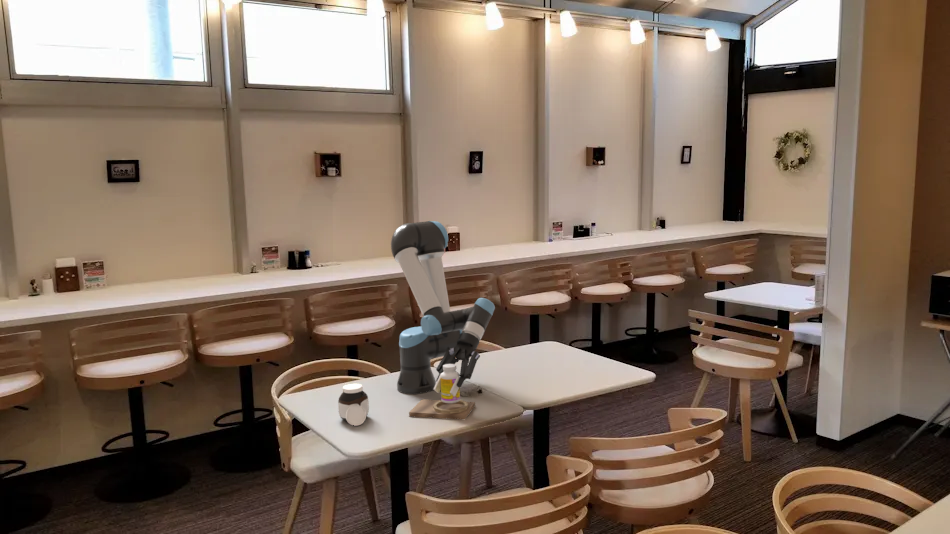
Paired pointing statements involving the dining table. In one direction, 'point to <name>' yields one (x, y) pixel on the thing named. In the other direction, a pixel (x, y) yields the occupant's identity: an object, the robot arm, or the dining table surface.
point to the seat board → (442, 409)
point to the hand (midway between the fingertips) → (444, 392)
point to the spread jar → (353, 404)
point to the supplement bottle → (449, 384)
